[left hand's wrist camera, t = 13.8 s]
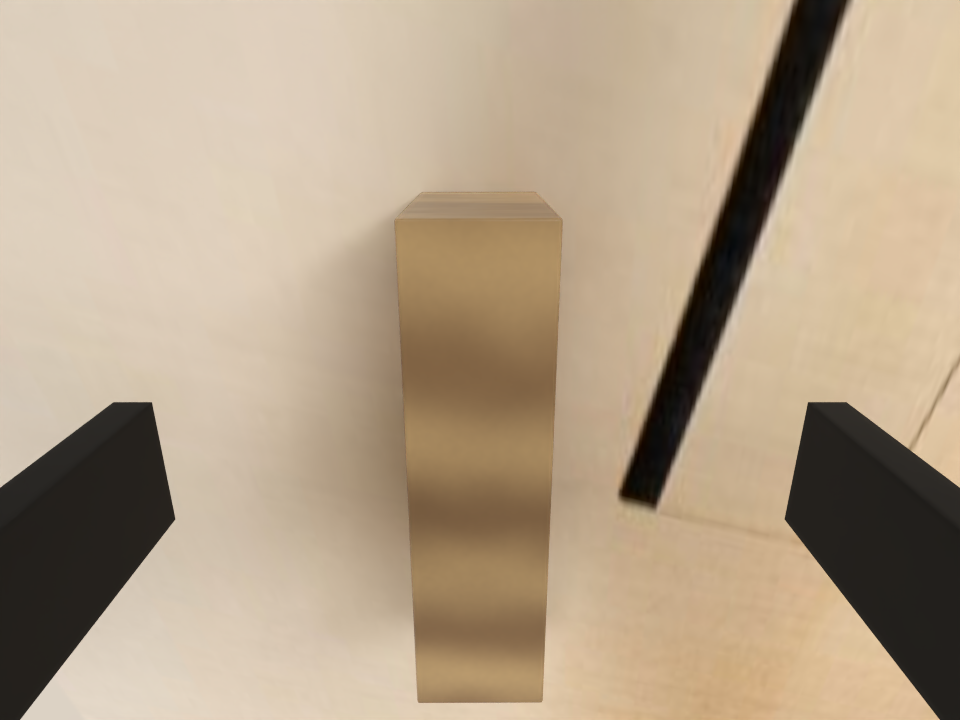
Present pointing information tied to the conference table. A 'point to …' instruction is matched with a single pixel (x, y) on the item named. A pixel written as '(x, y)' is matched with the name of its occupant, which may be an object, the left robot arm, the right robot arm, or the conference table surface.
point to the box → (479, 436)
